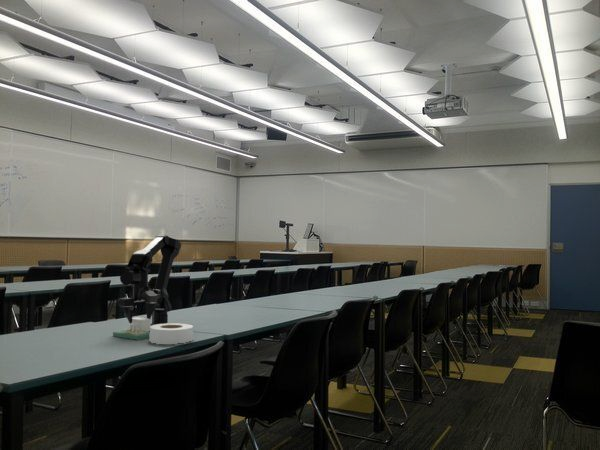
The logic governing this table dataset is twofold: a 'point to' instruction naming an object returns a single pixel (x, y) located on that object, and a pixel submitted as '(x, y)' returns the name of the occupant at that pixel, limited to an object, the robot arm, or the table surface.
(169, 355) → the table surface
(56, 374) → the table surface
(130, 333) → the header board
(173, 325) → the roll of tape
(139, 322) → the block
